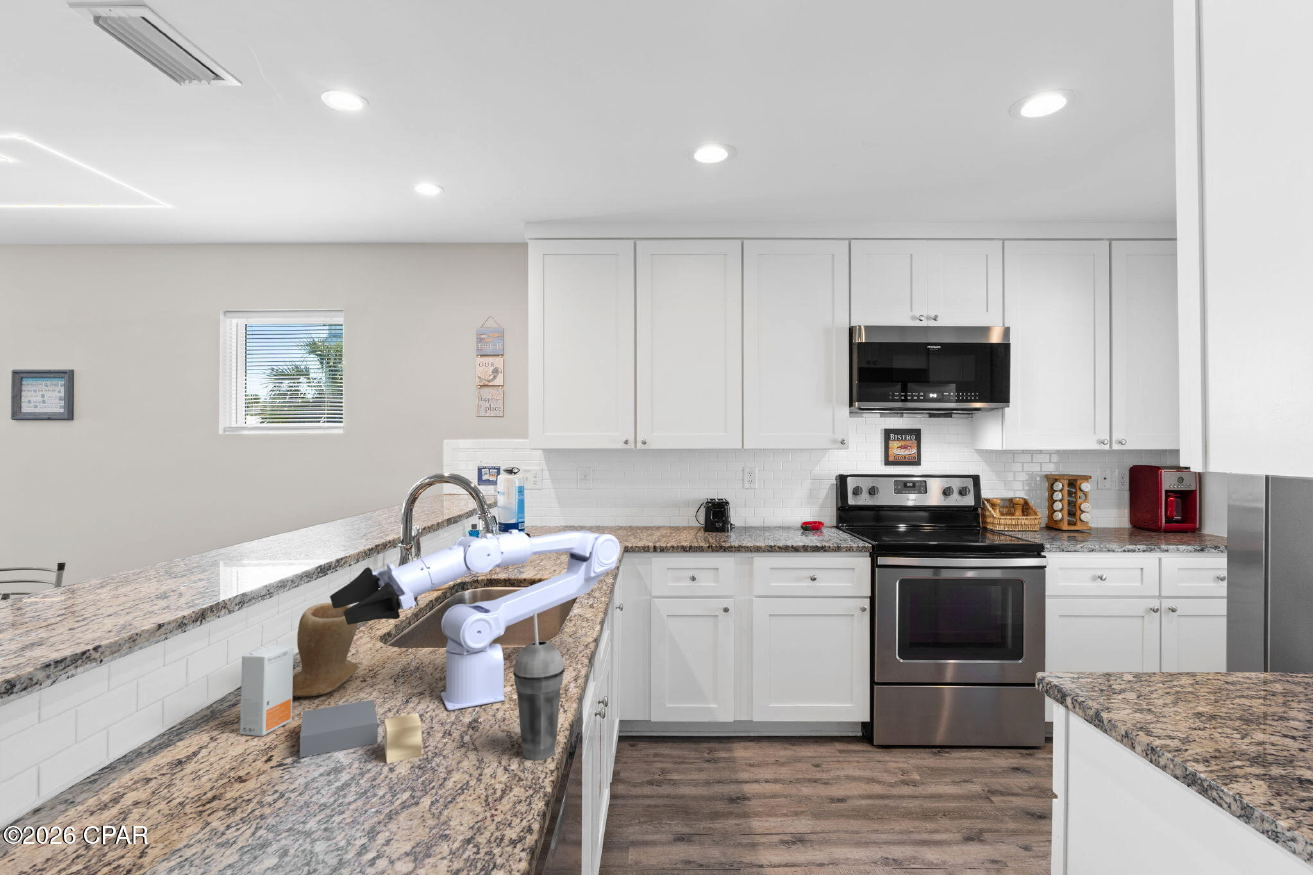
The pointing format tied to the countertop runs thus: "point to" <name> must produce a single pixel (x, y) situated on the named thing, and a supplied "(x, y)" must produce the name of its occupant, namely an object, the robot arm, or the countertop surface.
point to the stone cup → (323, 650)
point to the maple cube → (403, 738)
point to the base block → (338, 728)
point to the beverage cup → (538, 696)
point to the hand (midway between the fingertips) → (338, 610)
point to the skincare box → (266, 690)
